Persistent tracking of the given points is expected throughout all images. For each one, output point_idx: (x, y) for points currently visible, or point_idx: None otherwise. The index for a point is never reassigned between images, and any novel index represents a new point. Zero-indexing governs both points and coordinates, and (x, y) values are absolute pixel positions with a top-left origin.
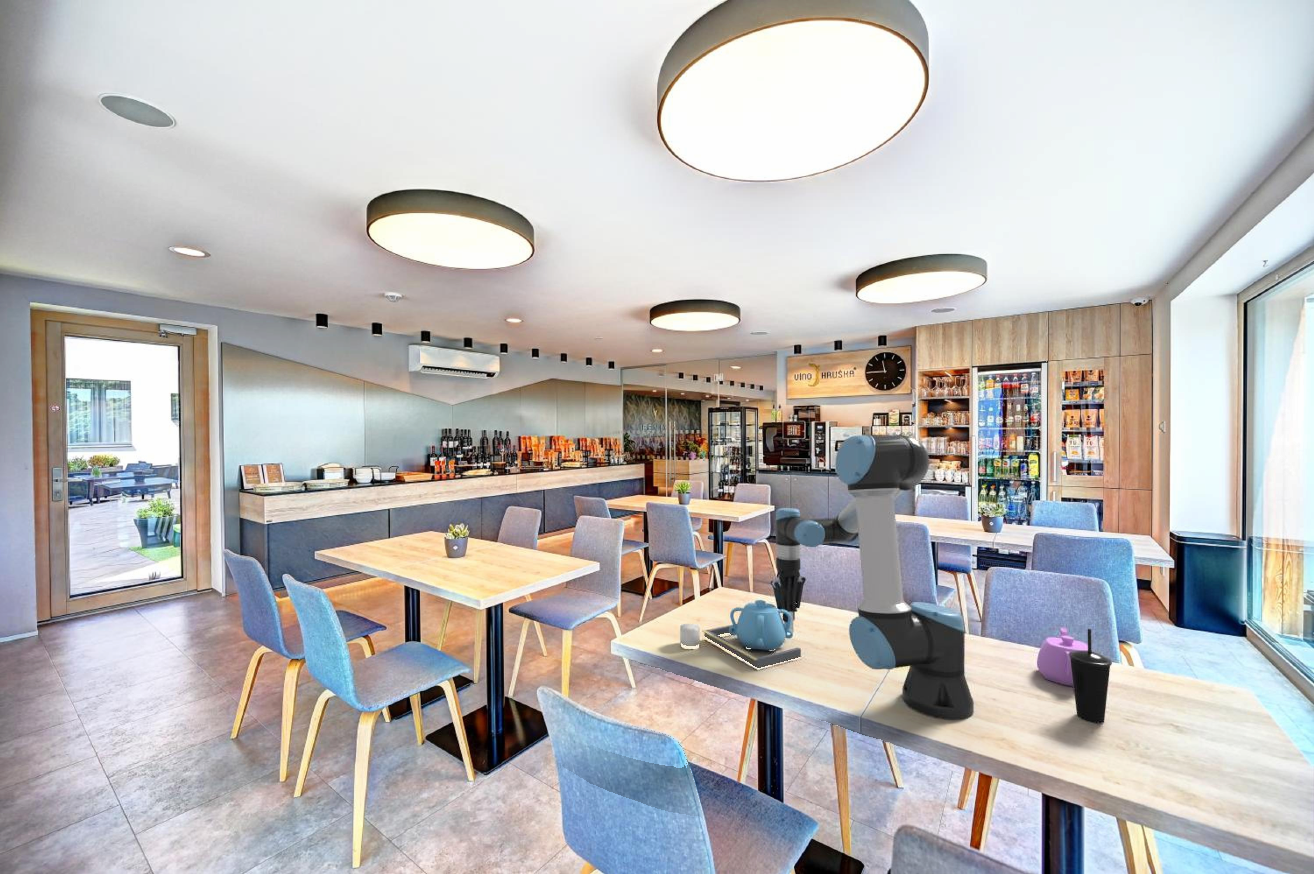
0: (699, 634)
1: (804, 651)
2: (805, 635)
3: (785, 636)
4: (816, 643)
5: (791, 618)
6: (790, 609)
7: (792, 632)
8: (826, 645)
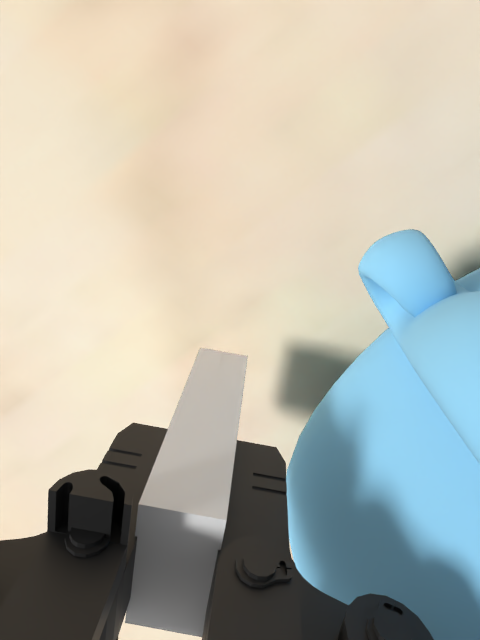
0: None
1: (365, 73)
2: (30, 325)
3: (477, 276)
4: (94, 135)
5: (473, 325)
6: (129, 582)
7: (402, 244)
8: (50, 27)
